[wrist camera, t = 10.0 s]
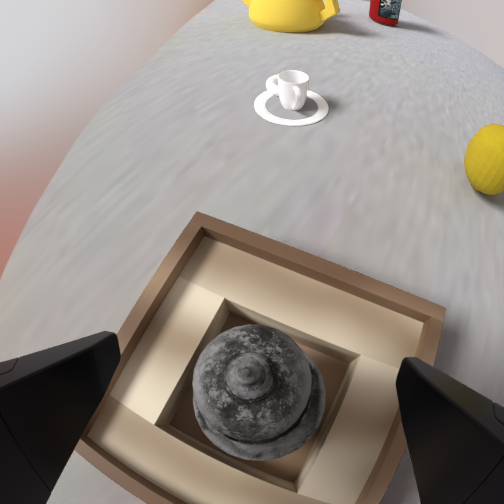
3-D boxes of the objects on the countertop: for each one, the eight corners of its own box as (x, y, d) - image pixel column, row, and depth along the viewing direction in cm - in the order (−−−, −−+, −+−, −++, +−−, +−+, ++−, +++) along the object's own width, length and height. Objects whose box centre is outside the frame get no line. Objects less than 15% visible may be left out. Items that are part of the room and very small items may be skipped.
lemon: (443, 169, 25) (473, 104, 18) (478, 167, 25) (508, 111, 18) (470, 214, 22) (512, 150, 15) (504, 208, 23) (543, 153, 16)
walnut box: (319, 544, 11) (333, 574, 7) (101, 438, 15) (60, 437, 11) (413, 332, 18) (446, 308, 14) (209, 250, 22) (196, 211, 18)
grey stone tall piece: (189, 421, 15) (54, 413, 5) (237, 334, 18) (192, 196, 7) (285, 468, 13) (320, 561, 3) (331, 375, 16) (435, 292, 6)
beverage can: (386, 27, 47) (392, -20, 37) (362, 17, 50) (367, -27, 40) (402, 27, 49) (409, -17, 39) (380, 17, 52) (385, -25, 42)
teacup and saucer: (265, 84, 34) (264, 55, 30) (331, 93, 32) (334, 64, 29) (245, 123, 30) (243, 90, 26) (324, 135, 28) (329, 101, 25)
